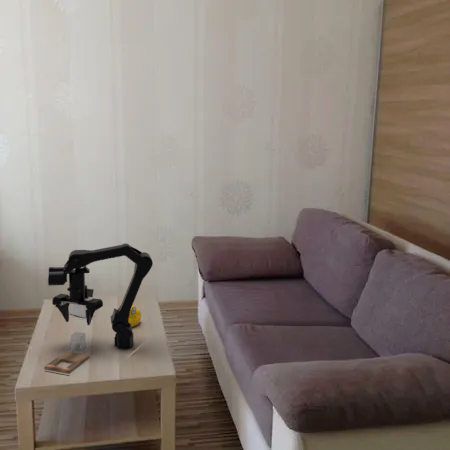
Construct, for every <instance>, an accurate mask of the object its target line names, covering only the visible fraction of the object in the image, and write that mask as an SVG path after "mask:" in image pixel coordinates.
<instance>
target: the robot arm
mask: <svg viewBox="0 0 450 450" xmlns="http://www.w3.org/2000/svg"><path fill="white" fill-rule="evenodd" d="M123 256H125V258H127V259H129V260H130V261H132V263H134V269H133V275H132V276H131V279H130V281H129V284H128V287H127V289H126V292H125V294H124V297H123V299H122V302H121V304H120V306H119V308H113V311H112V315H110V322H111V328H112V331H113V332H114V333H115V336H114V337H113V338H114V341H113V343H114V347H115V348H117V349H120V350H130V349H131V348H133V347H134V332H133V327H131V324H130V323H129V322H128V320H129V313H130V310H131V307H132V305H133V304H134V302H135V300H136V297H137V294H138V292H139V290H140V287H141V285H142V282H143V280H144V278H146V276H147V275H148V273H150V270H151V269H152V267H153V265H154V264H153V262H154V261H153V260H152V256H151V255H150V254H149V253H147V252H142V251H140V250H139V249H137V248H135V247H133V246H131V245H130V244H129V243H122V244H119V245H114V246H109V247H104V248H99V249H98V248H97V249H90V250H89V249H75V250H72V251H70V252H69V255H68V260H67V261H66V262H65V263H64V264H63V266H62V267H61V266H59V267H57V266H49V267H48V277H47V282H48V283H47V284H48V286H49V287H50V286H65V284H66V283H68V287H67V288H66V289H67V292H68V293H69V294H65V293H59V294H57V295H55V296H54V297H52V301H51V302H52V305H54V306H55V308H57V309H58V310H59V312H60V313H61V315H62V317H63V318H64V320H65V322H66V323H69V321H70V303H71V304H78V305H85V306H86V308H87V310H86V318H85V319H86V323H87V326H90V325H91V323H92V320H93V317H94V314H95V312H96V311H97V310H99V309H101V308H103V307H104V302H103V299H101V298H93V297H94V289H93V288H88V285H86V278H85V276H86V274H89V273H90V268H88V267H87V266H88V265H90V264H92V263H95V262H99V261H104V260H108V259H114V258H120V257H123ZM89 297H90V299H91V300H89V301H87V300H85V299H88V298H89Z"/></svg>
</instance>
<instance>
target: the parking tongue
mask: <svg viewBox="0 0 450 450" xmlns="http://www.w3.org/2000/svg"><path fill="white" fill-rule="evenodd" d="M91 347H92V346H90V345H86V348H85V349H84V350H82V351H81V352H78V351H72V350H71V348H69V349H68V350H67V351H70V352H75V353H81V354H84V352H85V351H87V350H88V349H90V348H91Z"/></svg>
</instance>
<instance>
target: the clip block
mask: <svg viewBox="0 0 450 450" xmlns="http://www.w3.org/2000/svg"><path fill="white" fill-rule="evenodd" d="M86 337H87V336H86V332H79V331H75V332H74V333H72V334H71V335H70V349H71V350H72V351H78V352H81V351H82V350H84V349H85V348H86V346H87V343H86V342H87V341H86Z"/></svg>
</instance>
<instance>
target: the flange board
mask: <svg viewBox="0 0 450 450" xmlns="http://www.w3.org/2000/svg"><path fill="white" fill-rule="evenodd" d="M90 358H91V355H90V354H87V353H86V354H85V353H75V352H70V351H68V350H66V351H64V352H63V353H62V354H60V355H59V356H57V357H56V358H54V359H53V360H51V361H50V362H48V363H46V365H44V367H43V368H44V373H51V374H56V375H62V376H67V377H70V376H71V375H69V374H71V373H72V372H73V371H75V370H76V369H77V368H78V367H80V366H81V365H83V364H84V363H85V362H86V361H88V360H89V359H90ZM60 363H66V364H69V365H68V366H67V367H64V366H59V364H60Z"/></svg>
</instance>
